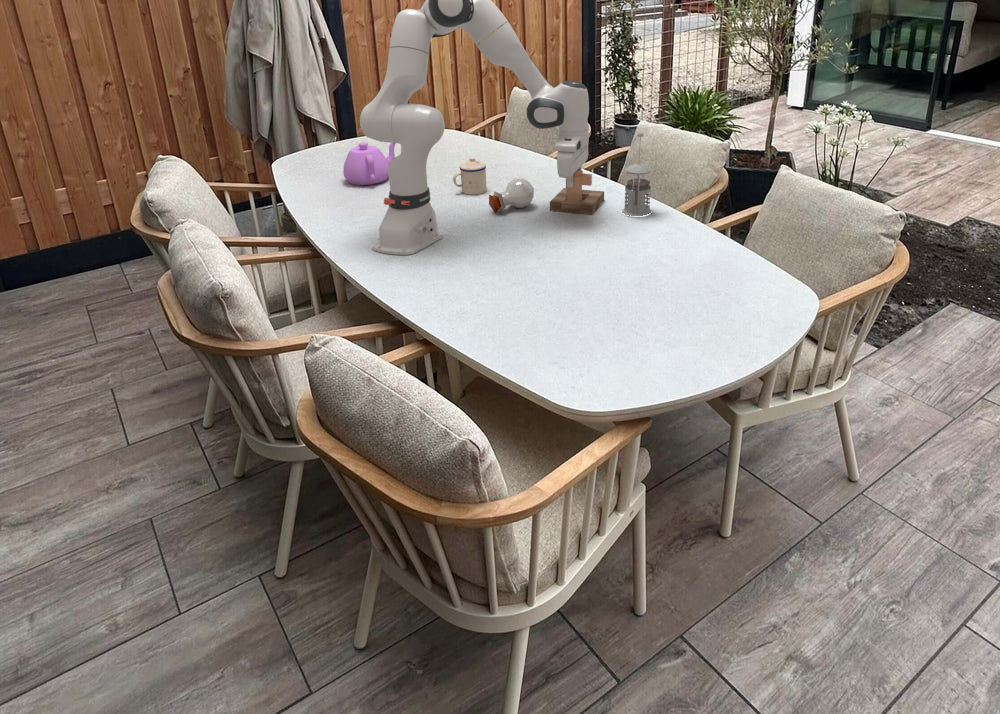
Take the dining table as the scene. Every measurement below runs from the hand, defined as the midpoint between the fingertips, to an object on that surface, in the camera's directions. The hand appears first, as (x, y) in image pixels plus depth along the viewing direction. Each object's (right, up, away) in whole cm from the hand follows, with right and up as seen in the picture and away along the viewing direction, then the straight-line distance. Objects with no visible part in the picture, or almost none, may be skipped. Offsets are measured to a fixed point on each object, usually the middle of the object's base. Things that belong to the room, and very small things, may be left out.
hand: (573, 183), depth 235 cm
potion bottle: (-18, -5, +14) cm, 24 cm away
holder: (+2, -4, +14) cm, 14 cm away
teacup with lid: (-33, +4, +31) cm, 45 cm away
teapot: (-69, +12, +48) cm, 85 cm away
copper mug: (+2, -5, +2) cm, 5 cm away
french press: (+20, -8, +5) cm, 22 cm away
